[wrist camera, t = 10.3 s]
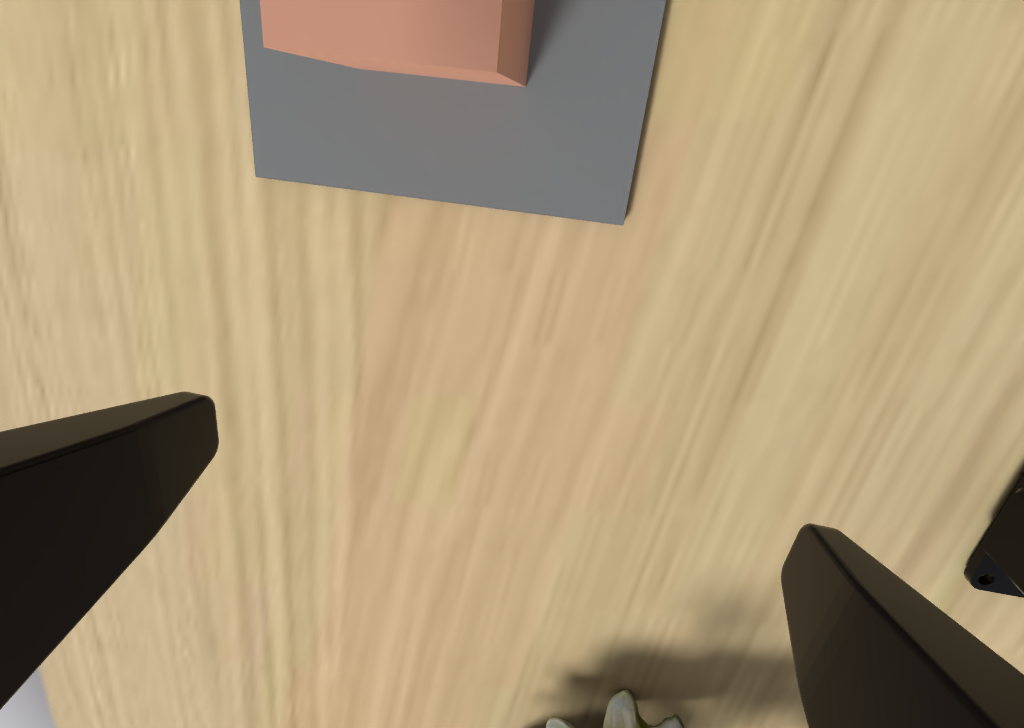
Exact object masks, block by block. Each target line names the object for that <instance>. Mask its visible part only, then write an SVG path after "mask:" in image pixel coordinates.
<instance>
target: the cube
mask: <svg viewBox="0 0 1024 728" xmlns="http://www.w3.org/2000/svg"><path fill="white" fill-rule="evenodd" d="M534 2H535V0H260V9H261V22H262V34H263V47H264V48H269V49H273V50H277V51H282V52H286V53H291V54H295V55H300V56H304V57H308V58H313V59H317V60H322V61H326V62H331V63H335V64H340V65H344V66H348V67H353V68H357V69H365V70H374V71H384V72H393V73H402V74H411V75H420V76H430V77H439V78H448V79H457V80H466V81H476V82H485V83H494V84H503V85H512V86H522V87H526V81H527V71H528V61H529V51H530V41H531V31H532V21H533V12H534Z"/></svg>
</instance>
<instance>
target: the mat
mask: <svg viewBox="0 0 1024 728" xmlns="http://www.w3.org/2000/svg"><path fill="white" fill-rule="evenodd" d="M665 3H666V0H535V2H534V12H533V21H532V31H531V41H530V51H529V61H528V71H527V81H526V87H522V86H512V85H503V84H494V83H485V82H476V81H466V80H457V79H448V78H439V77H430V76H420V75H411V74H402V73H393V72H384V71H374V70H365V69H357V68H353V67H348V66H344V65H340V64H335V63H331V62H326V61H322V60H317V59H313V58H308V57H304V56H300V55H295V54H291V53H286V52H282V51H277V50H273V49H269V48H264V47H263V34H262V22H261V9H260V0H240V9H241V20H242V31H243V42H244V53H245V64H246V75H247V86H248V97H249V108H250V119H251V131H252V142H253V153H254V164H255V175H256V177H261V178H268V179H276V180H283V181H291V182H298V183H306V184H313V185H321V186H329V187H336V188H344V189H351V190H359V191H366V192H374V193H381V194H389V195H397V196H404V197H412V198H419V199H427V200H434V201H442V202H449V203H457V204H465V205H472V206H480V207H487V208H495V209H502V210H510V211H517V212H525V213H533V214H540V215H548V216H555V217H563V218H570V219H578V220H585V221H593V222H600V223H608V224H616V225H623V224H624V219H625V214H626V208H627V203H628V198H629V193H630V187H631V182H632V177H633V172H634V166H635V161H636V156H637V150H638V145H639V140H640V135H641V129H642V124H643V119H644V114H645V108H646V103H647V98H648V93H649V87H650V82H651V77H652V72H653V66H654V61H655V56H656V50H657V45H658V40H659V35H660V29H661V24H662V19H663V14H664V8H665Z"/></svg>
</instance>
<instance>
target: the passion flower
mask: <svg viewBox="0 0 1024 728" xmlns="http://www.w3.org/2000/svg"><path fill="white" fill-rule="evenodd" d="M546 728H574V726H573V725H572V724H570V723H569V722H567V721H564V720H562V719H561V718H559V717H556V716H553V717H551V718H550V719H549V720H548V722H547V724H546ZM603 728H684V726H683V723H682V721H681V719H680V717H679V716H678V715H677V714H674V715H673V716H672V717H670V718H665V719H664V720H663V721H662V722H661V723H660V724H658V725H656V726H651V725H648V724H647V723H646V722H645V721H644V720H643V719H642V718H641V716H640V715H639V712H638V707H637V704H636V702H635V700H634V698H633V696H632V694H631V693H630V692H629V691H628V690H623V691H620V692H618V693H617V694H615V695H614V696H613V697H612V698H611V699H610V702H609V704H608V707H607V711H606V715H605V718H604V724H603Z"/></svg>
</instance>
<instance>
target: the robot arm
mask: <svg viewBox="0 0 1024 728" xmlns="http://www.w3.org/2000/svg"><path fill="white" fill-rule="evenodd" d="M218 444H219V438H218V429H217V420H216V410H215V404H214V402H213V400H212V399H211V398H210V397H208V396H205V395H200V394H195V393H191V392H179V393H174V394H170V395H165V396H161V397H156V398H152V399H147V400H143V401H138V402H134V403H129V404H125V405H120V406H116V407H111V408H106V409H102V410H97V411H93V412H88V413H84V414H79V415H75V416H70V417H66V418H61V419H57V420H52V421H47V422H43V423H38V424H34V425H29V426H25V427H20V428H16V429H11V430H7V431H2V432H0V709H1V708H2V707H3V706H4V705H5V704H6V703H7V702H8V701H9V699H10V698H11V697H12V696H13V695H14V694H15V693H16V692H17V690H18V689H19V688H20V687H21V686H22V685H23V684H24V683H25V682H26V680H27V679H28V678H29V677H30V676H31V675H32V673H34V671H35V670H36V669H37V668H38V667H39V666H40V665H41V664H42V663H43V661H44V660H45V659H46V658H47V657H48V656H49V655H50V654H51V652H52V651H53V650H54V649H55V648H56V647H57V646H58V645H59V644H60V642H61V641H62V640H63V639H64V638H65V637H66V636H67V635H68V633H69V632H70V631H71V630H72V629H73V628H74V627H75V626H76V625H77V623H78V622H79V621H80V620H81V619H82V618H83V617H84V616H85V614H86V613H87V612H88V611H89V610H90V609H91V608H92V607H93V605H94V604H95V603H96V602H97V601H98V600H99V599H100V598H101V597H102V595H103V594H104V593H105V592H106V591H107V590H108V589H109V588H110V586H111V585H112V584H113V583H114V582H115V581H116V580H117V579H118V578H119V576H120V575H121V574H122V573H123V572H124V571H125V570H126V569H127V567H128V566H129V565H130V564H131V563H132V562H133V561H134V560H135V559H136V557H137V556H138V555H139V554H140V553H141V552H142V551H143V550H144V548H145V547H146V546H147V545H148V544H149V543H150V541H151V540H152V539H153V538H154V537H155V536H156V534H157V533H158V532H159V530H160V529H161V528H162V527H163V525H164V524H165V523H166V521H167V520H168V519H169V517H170V516H171V515H172V513H173V512H174V511H175V509H176V508H177V506H178V505H179V504H180V502H181V501H182V500H183V498H184V497H185V496H186V494H187V493H188V492H189V490H190V489H191V487H192V486H193V485H194V483H195V482H196V481H197V479H198V478H199V477H200V475H201V474H202V473H203V471H204V470H205V468H206V467H207V466H208V464H209V463H210V462H211V460H212V459H213V457H214V456H215V454H216V452H217V449H218ZM964 576H965V578H966V579H967V580H968V581H969V583H970V584H971V585H972V586H973V587H974V588H976V589H979V590H984V591H990V592H995V593H1001V594H1006V595H1012V596H1017V597H1023V598H1024V474H1023V476H1022V478H1021V479H1020V481H1019V482H1018V484H1017V486H1016V487H1015V489H1014V490H1013V492H1012V494H1011V495H1010V497H1009V499H1008V500H1007V502H1006V503H1005V505H1004V507H1003V508H1002V510H1001V512H1000V513H999V515H998V516H997V518H996V520H995V521H994V523H993V524H992V526H991V528H990V529H989V531H988V533H987V534H986V536H985V537H984V539H983V541H982V542H981V544H980V546H979V547H978V549H977V550H976V552H975V554H974V555H973V557H972V558H971V560H970V562H969V563H968V565H967V567H966V568H965V571H964ZM781 583H782V590H783V596H784V602H785V609H786V615H787V621H788V627H789V634H790V640H791V646H792V652H793V658H794V665H795V671H796V676H797V681H798V687H799V691H800V695H801V699H802V703H803V707H804V711H805V715H806V718H807V722H808V726H809V728H1024V675H1023V674H1022V673H1021V672H1019V671H1018V670H1017V669H1016V668H1014V667H1013V666H1012V665H1011V664H1009V663H1008V662H1007V661H1005V660H1004V659H1003V658H1002V657H1000V656H999V655H998V654H996V653H995V652H994V651H993V650H991V649H990V648H989V647H988V646H986V645H985V644H984V643H982V642H981V641H980V640H979V639H977V638H976V637H975V636H973V635H972V634H971V633H970V632H968V631H967V630H966V629H964V628H963V627H962V626H961V625H959V624H958V623H957V622H956V621H954V620H953V619H952V618H950V617H949V616H948V615H947V614H945V613H944V612H943V611H941V610H940V609H939V608H938V607H936V606H935V605H934V604H932V603H931V602H930V601H929V600H927V599H926V598H925V597H924V596H922V595H921V594H920V593H918V592H917V591H916V590H915V589H913V588H912V587H911V586H909V585H908V584H907V583H906V582H904V581H903V580H902V579H900V578H899V577H898V576H897V575H895V574H894V573H893V572H892V571H890V570H889V569H888V568H886V567H885V566H884V565H883V564H881V563H880V562H879V561H877V560H876V559H875V558H874V557H872V556H871V555H870V554H868V553H867V552H866V551H865V550H863V549H862V548H861V547H860V546H858V545H857V544H856V543H854V542H853V541H852V540H851V539H849V538H848V537H847V536H845V535H844V534H843V533H842V532H840V531H839V530H837V529H834V528H830V527H825V526H820V525H815V524H806V525H804V526H803V527H802V528H801V529H800V531H799V532H798V535H797V537H796V539H795V541H794V543H793V545H792V547H791V550H790V552H789V554H788V556H787V558H786V560H785V562H784V565H783V568H782V574H781Z"/></svg>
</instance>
